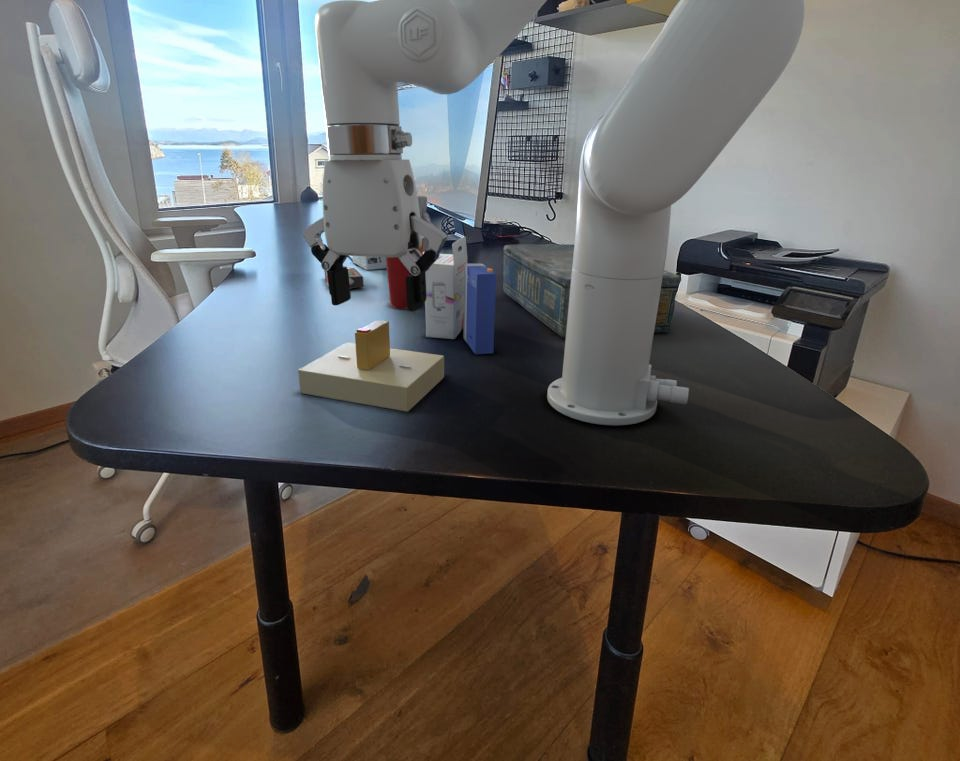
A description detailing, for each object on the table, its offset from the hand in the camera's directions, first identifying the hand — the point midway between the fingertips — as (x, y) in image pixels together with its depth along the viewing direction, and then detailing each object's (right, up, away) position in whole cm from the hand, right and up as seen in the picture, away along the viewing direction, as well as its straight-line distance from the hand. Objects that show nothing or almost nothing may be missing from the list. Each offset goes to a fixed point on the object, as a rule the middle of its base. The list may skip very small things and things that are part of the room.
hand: (378, 305), depth 64 cm
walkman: (+11, -4, +19) cm, 22 cm away
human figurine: (-1, +15, +62) cm, 64 cm away
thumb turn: (-1, -7, +3) cm, 7 cm away
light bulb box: (-15, +20, +73) cm, 78 cm away
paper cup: (-2, +5, +39) cm, 40 cm away
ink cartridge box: (+6, -1, +25) cm, 26 cm away
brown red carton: (-18, +12, +55) cm, 59 cm away
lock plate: (-1, -9, +4) cm, 10 cm away
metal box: (+30, +4, +39) cm, 49 cm away
